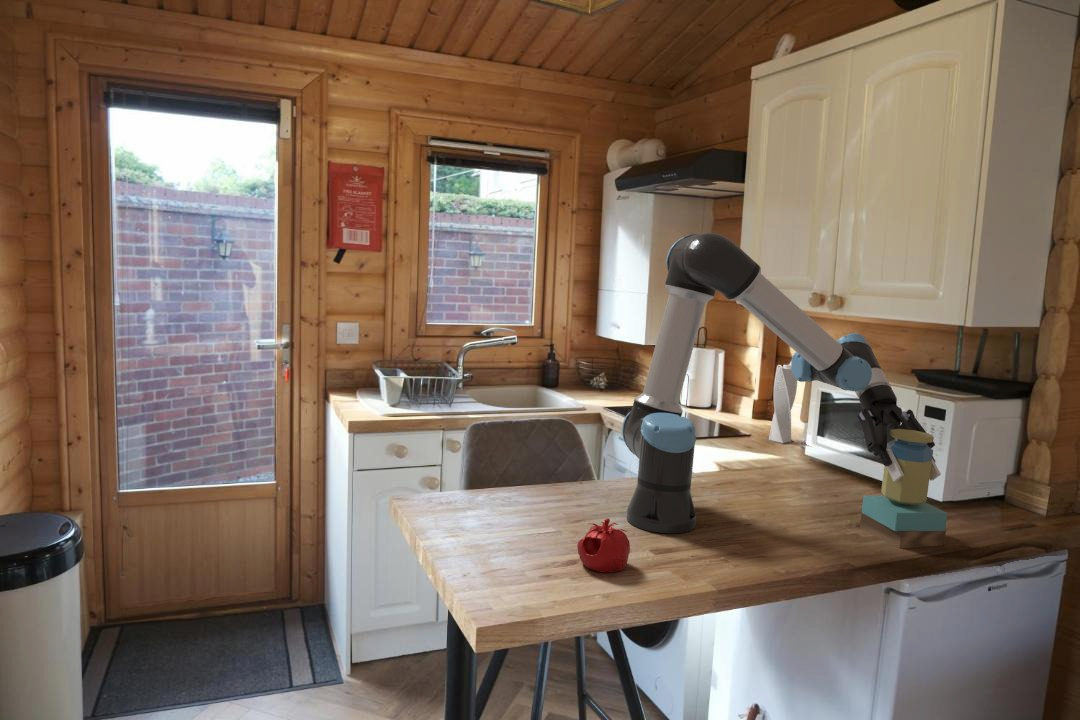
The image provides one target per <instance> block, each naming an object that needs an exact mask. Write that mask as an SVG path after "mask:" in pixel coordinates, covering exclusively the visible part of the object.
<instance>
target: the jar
mask: <svg viewBox="0 0 1080 720" xmlns="http://www.w3.org/2000/svg"><path fill="white" fill-rule="evenodd" d="M889 436H890V437H892V438H893V439H892V440H890V441H887V449H886V450H888V449H891V450H892V452H893V454H894V456H895V458H896V460H897V462H898V464H899V466H900V468H901V470H902V472H903V474H904V476H903V477H901V478H900V479H899V480H898V481H895V482H894V481H893V479H892V477H891V475H890V473H889V471H888V469H887V467H886V466H884V465H883V466H884V467H883V475H882V481H881V482H882V483H881V491H880V492H881V493H882V496H885V497H886V498H888V499H889V500H892V501H895V502H898V503H903V504H911V505H915V504H919V503H923V502H925V503H927V499H928V491H929V486H930V471H931V464H932V456H933V455H934V449H933V448H930V447H929V446H928V445H927V443H929V442H934V438H935V436H933V435H931V434H930V433H928V432H926V433H924V432H919V431H915V430H905V429H893V428H892V429H889ZM933 457H934V456H933Z"/></svg>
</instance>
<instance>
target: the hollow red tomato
mask: <svg viewBox="0 0 1080 720" xmlns="http://www.w3.org/2000/svg"><path fill="white" fill-rule="evenodd" d="M600 523H601V525H598V524H597V523H593V522H592V523H586V524H587V525H593V526H591V527H590V528H589V530H588V532H587V533H586V534H585V536H584V537H583V538H581V539H579V541H578V542H577V554H578V556H579V557H578V558H579V560H580V561H581V563H582V564H584V566H585V567H586V568H587V569H589V570H592V571H595V572H599V573H604V574H605V573H609V574H610V573H613V572H614V573H615V572H620V571H621V570H623V569H624V568H626V566H627V564H628V562H629V561H628V560H629V558H630V557H629V556H630V552H631V545H630V540H629V538H628V536H627V534H626V533H624V532H628V530H625V529H622V528H619V529H618V528H613V526H614V525H620V524H617V523H616V522H613V523H611V519H610V518H608V517H606V518H605V519H604V521H601V522H600Z"/></svg>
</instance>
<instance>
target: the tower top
mask: <svg viewBox="0 0 1080 720" xmlns="http://www.w3.org/2000/svg"><path fill="white" fill-rule="evenodd" d="M861 505H862V507H861V514H865V515H867V516H869V517H871V518H872V519H874V520H876V521H878V522H879V523H881V524H883V525H885V526H887V527H888V528H890V529H892V530H894V531H945V529H946V528H947V527H946V526H947V519H948V512H946V511H944V510H942V509H940V508H938V507H937V506H933V505H931V504H929V503H927V502H923V503H919V504H915V505H911V504H903V503H898V502H895V501H892V500H889V499H888V498H886V497H885V496H884V495H863V499H862V504H861Z"/></svg>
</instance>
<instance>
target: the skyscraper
mask: <svg viewBox="0 0 1080 720" xmlns="http://www.w3.org/2000/svg"><path fill="white" fill-rule="evenodd" d="M774 375H775V376H774V382H773V395H772V396H773V408H774V412H773V415H772V421H771V425H770V430H769V436H768V437H767V438H766V437H765V438H764V441H768V442H773V443H776V444H780V445H786V444H787V445H788V444H791V443H794V440H792V409H793V406H794V403H795V399H796V396H797V395H796V394H797V387H798V380H796V378H795V377H794V375H793V372H792V368H791V364H783V366H782V365H781V364H778V365H776V370H775V374H774Z"/></svg>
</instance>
